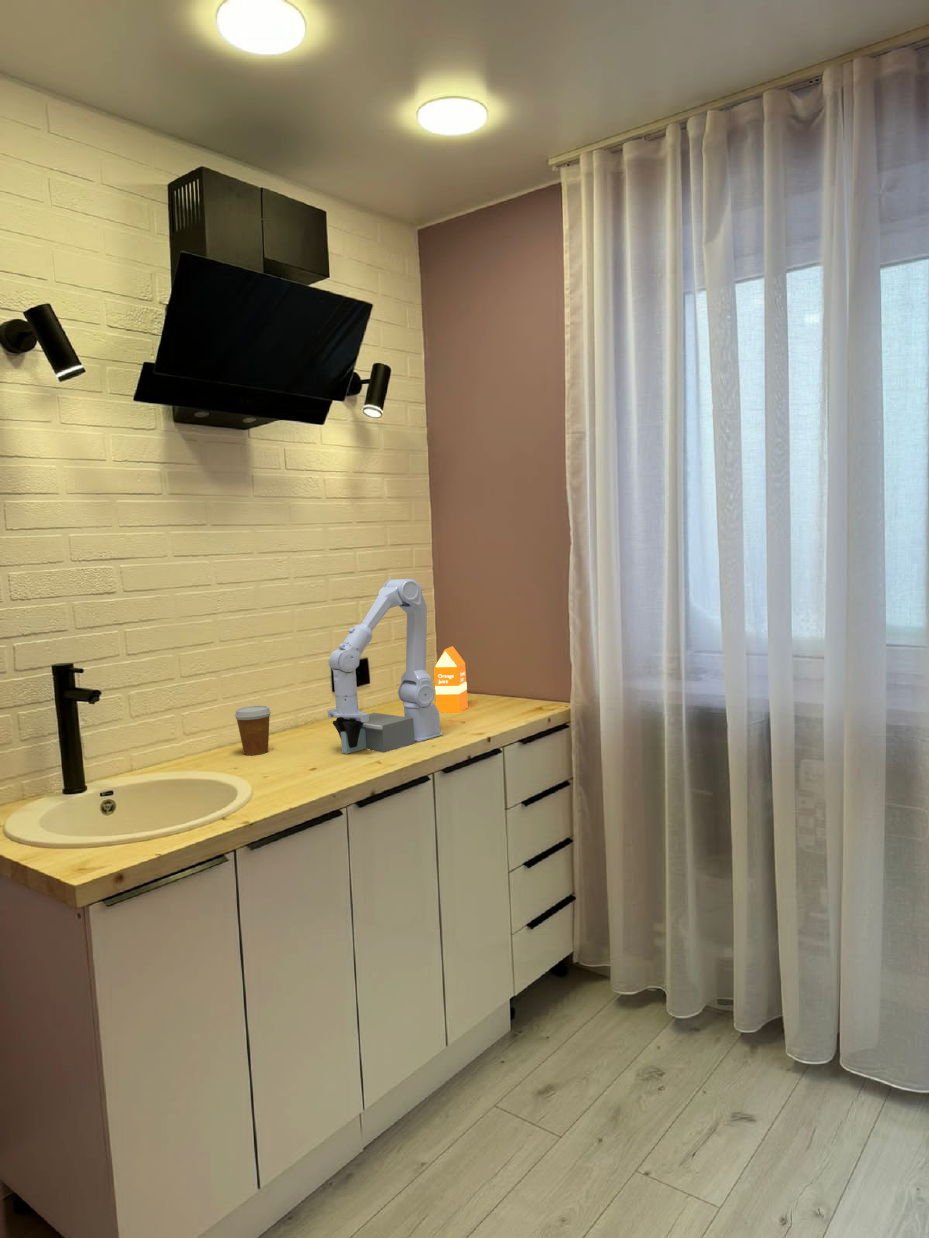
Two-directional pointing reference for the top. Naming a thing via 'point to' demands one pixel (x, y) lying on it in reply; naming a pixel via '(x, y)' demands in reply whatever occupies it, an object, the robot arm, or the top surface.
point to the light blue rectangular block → (361, 744)
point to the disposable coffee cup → (254, 729)
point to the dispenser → (388, 732)
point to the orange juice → (451, 682)
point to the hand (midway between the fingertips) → (350, 746)
